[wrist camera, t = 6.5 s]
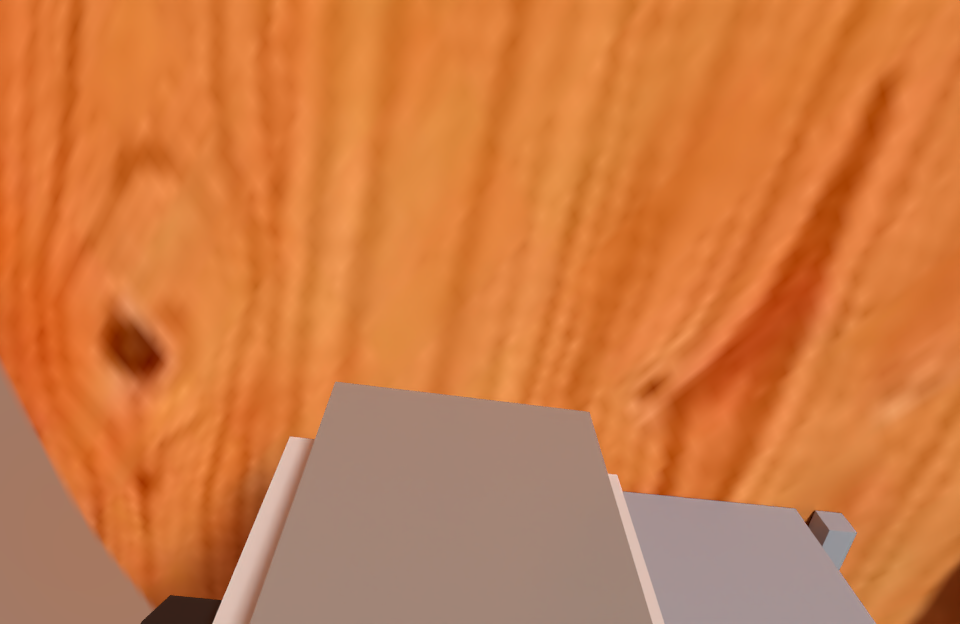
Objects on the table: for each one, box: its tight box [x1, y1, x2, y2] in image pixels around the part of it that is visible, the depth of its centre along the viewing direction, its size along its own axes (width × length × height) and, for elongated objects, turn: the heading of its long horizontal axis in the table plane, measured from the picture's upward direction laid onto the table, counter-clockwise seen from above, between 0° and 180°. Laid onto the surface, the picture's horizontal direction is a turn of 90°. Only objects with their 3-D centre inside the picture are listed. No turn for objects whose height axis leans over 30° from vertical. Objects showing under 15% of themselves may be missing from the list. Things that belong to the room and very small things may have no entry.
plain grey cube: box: [250, 382, 653, 624], centre depth 11 cm, size 5×5×6 cm
